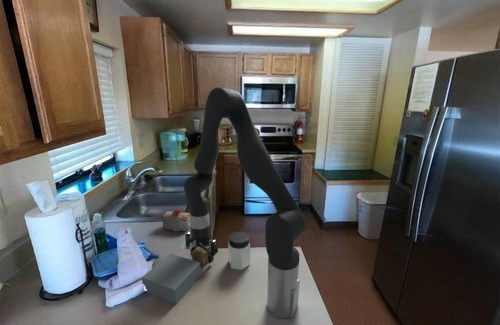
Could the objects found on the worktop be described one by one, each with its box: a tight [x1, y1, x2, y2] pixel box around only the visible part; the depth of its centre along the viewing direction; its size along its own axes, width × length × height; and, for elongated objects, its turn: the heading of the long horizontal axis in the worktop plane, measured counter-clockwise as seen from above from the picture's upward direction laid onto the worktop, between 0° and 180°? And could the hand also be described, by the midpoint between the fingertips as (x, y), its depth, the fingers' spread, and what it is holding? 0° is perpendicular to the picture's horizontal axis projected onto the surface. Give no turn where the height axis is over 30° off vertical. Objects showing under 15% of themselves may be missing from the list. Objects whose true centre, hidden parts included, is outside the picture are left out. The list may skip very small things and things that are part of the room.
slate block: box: [141, 253, 202, 305], centre depth 84 cm, size 14×14×6 cm
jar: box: [227, 231, 251, 271], centre depth 93 cm, size 9×8×12 cm
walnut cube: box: [191, 246, 211, 268], centre depth 95 cm, size 6×6×6 cm
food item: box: [161, 209, 190, 232], centre depth 119 cm, size 14×8×10 cm, turn 83°
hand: (202, 259), depth 95 cm, fingers open, 8 cm apart
